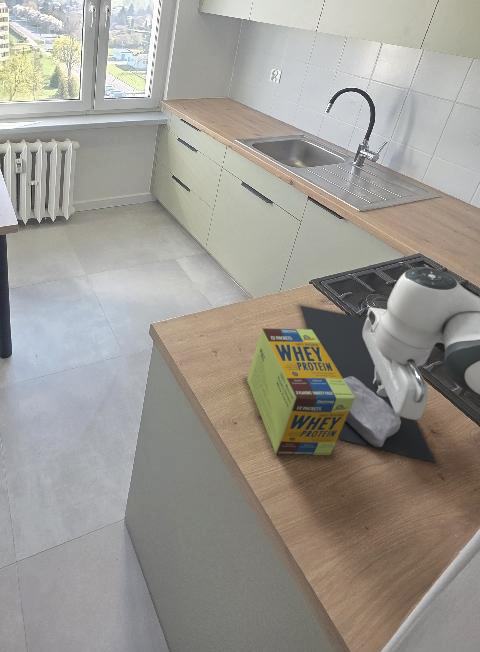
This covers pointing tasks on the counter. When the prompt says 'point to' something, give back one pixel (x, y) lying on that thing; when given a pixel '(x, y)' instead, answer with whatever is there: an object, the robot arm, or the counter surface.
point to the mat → (361, 376)
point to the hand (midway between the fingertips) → (379, 390)
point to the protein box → (298, 392)
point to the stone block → (371, 414)
